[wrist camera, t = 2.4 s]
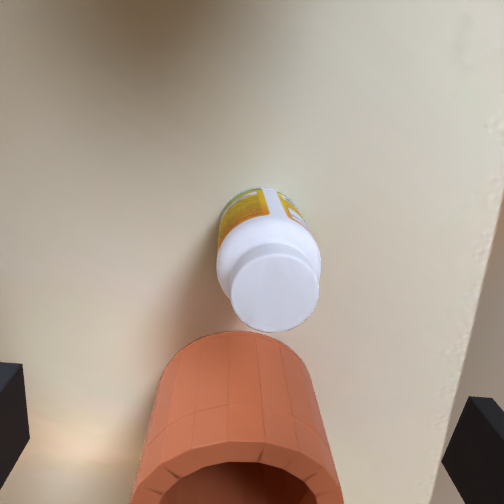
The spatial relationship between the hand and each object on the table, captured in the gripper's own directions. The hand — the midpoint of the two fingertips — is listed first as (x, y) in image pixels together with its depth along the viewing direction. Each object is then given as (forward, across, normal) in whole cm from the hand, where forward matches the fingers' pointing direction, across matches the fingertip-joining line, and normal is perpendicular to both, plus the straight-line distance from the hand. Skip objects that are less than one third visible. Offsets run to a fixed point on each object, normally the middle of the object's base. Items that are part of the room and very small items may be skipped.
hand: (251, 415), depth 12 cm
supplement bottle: (+16, +1, +1) cm, 16 cm away
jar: (+16, +1, -14) cm, 21 cm away
